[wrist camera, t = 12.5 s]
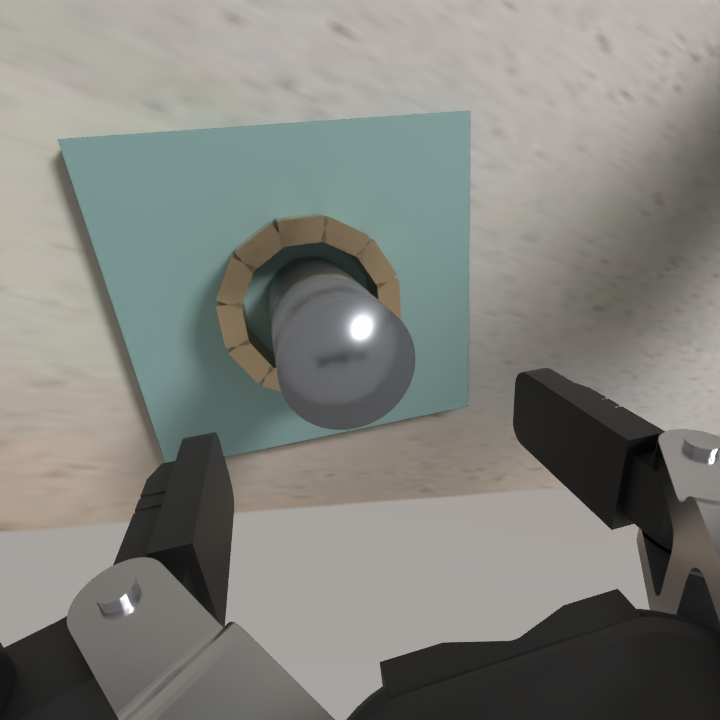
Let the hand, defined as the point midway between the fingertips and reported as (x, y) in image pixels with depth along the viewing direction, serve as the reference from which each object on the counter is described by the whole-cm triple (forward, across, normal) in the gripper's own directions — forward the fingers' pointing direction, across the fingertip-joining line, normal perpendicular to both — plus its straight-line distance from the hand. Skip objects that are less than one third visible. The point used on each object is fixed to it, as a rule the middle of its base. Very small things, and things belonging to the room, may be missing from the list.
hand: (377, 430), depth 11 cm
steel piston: (+14, 0, 0) cm, 14 cm away
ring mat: (+15, 0, 0) cm, 15 cm away
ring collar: (+15, 0, 0) cm, 15 cm away
